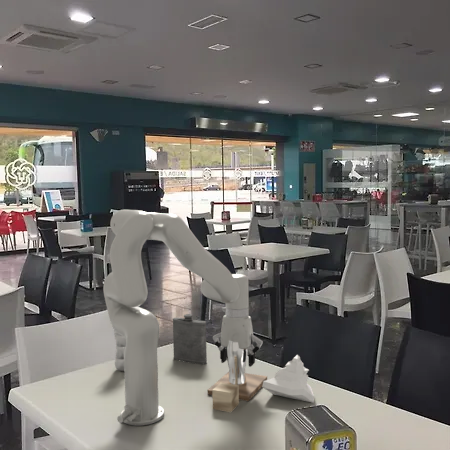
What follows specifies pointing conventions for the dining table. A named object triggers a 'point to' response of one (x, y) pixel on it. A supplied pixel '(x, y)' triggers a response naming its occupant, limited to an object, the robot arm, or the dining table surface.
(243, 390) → the serving board
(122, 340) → the plastic bottle
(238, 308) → the robot arm
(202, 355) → the flask
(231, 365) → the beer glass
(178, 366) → the dining table surface
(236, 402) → the beech block
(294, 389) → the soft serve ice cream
